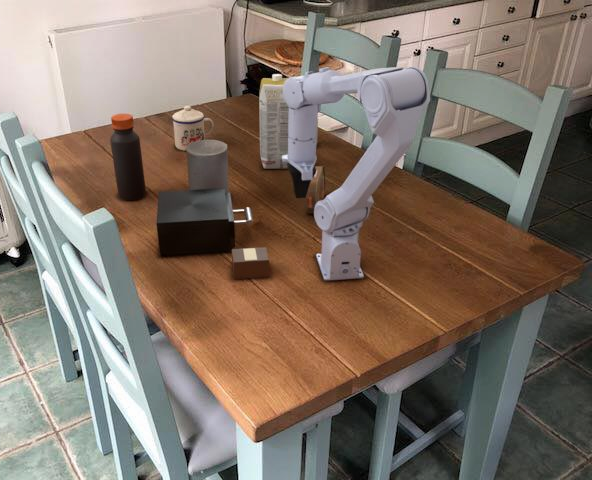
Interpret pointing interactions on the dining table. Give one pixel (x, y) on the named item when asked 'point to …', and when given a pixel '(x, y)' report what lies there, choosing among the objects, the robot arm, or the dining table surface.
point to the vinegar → (127, 158)
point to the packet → (250, 263)
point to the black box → (193, 222)
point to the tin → (316, 189)
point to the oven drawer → (232, 223)
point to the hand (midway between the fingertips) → (300, 196)
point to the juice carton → (273, 122)
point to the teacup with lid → (189, 127)
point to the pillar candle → (207, 165)
